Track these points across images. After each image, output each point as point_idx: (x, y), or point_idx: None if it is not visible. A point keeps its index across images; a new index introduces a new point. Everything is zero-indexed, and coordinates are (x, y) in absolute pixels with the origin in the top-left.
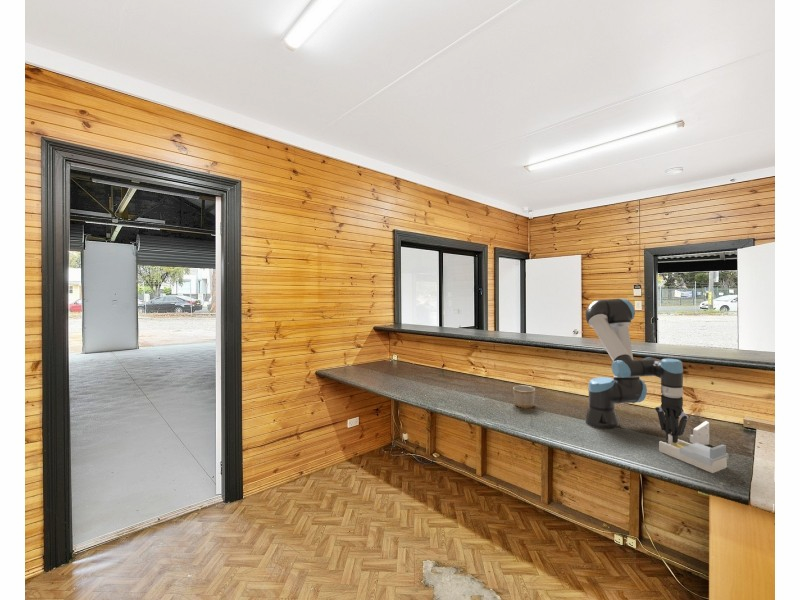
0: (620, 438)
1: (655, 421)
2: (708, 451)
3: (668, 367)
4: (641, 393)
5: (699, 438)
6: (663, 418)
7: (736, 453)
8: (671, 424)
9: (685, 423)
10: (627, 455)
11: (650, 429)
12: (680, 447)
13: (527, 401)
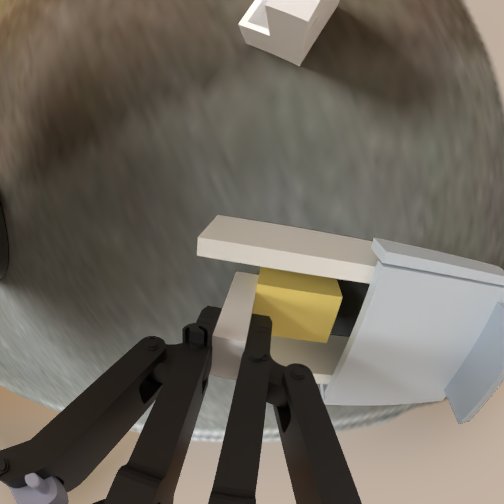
0: (64, 308)
1: (46, 3)
2: (447, 340)
3: None
4: None
5: (313, 34)
6: (104, 433)
7: (460, 49)
8: (189, 410)
9: (348, 487)
10: None
11: (51, 92)
12: (298, 322)
13: None
